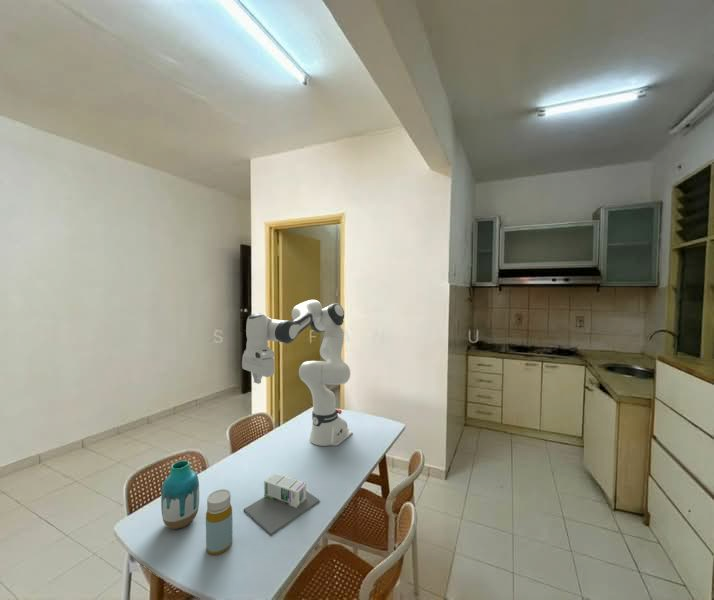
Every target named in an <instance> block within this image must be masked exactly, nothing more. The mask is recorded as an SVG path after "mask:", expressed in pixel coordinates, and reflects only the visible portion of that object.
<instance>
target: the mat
mask: <svg viewBox="0 0 714 600" xmlns="http://www.w3.org/2000/svg"><path fill="white" fill-rule="evenodd" d="M320 502H321V501H320V499H319V498H317V497H316V496H314V495H312V494H311V493H310V492H309V491H307V490H306V499H305V500H304V502H303V503H302V504H301V505H300V506H299V507H298V508H295V507H293V506H290V505H287V504H284V503H281V502H279V501H276V500H273V499H270V498H267V497H265V496H263V497H262V498H259V500H257V501H255V502H253V503H251V504H250V505H248V506H246V507H244V508H243V512H245V513H246V514H247V515H248V516H249V517H250V518H251V519H252V520H253V521H255V523H256V524H257V525H258V526H260V527H261V528H262V529H263V530H264V531H265V532H266V533H267V535H269V536H273V535H274V534H275V533H276V532H279V530H281V529H283V528H285V526H287V525H289V524H290V523H292V521H294V520H296V519H297V518H299V517H300V516H301V515H303V514H304V513H306V512H307V511H309V510H310V509H312V508H313V507H314V506H316V505H317V504H319V503H320Z"/></svg>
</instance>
